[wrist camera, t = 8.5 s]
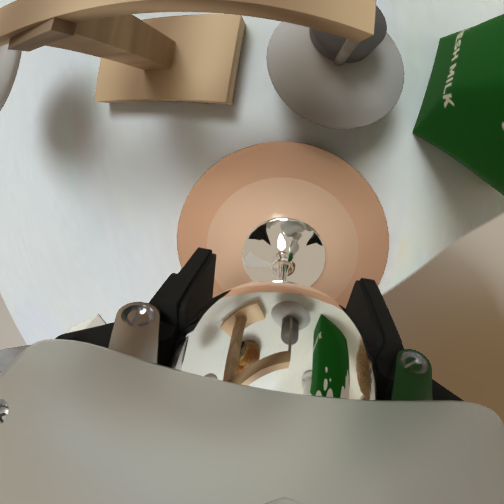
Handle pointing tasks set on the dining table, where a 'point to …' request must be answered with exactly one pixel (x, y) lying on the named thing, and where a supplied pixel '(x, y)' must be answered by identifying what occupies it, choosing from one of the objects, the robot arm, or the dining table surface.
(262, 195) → the dish
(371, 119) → the balance
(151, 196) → the dining table surface
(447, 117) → the milk carton
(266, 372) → the wineglass
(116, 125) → the dining table surface
